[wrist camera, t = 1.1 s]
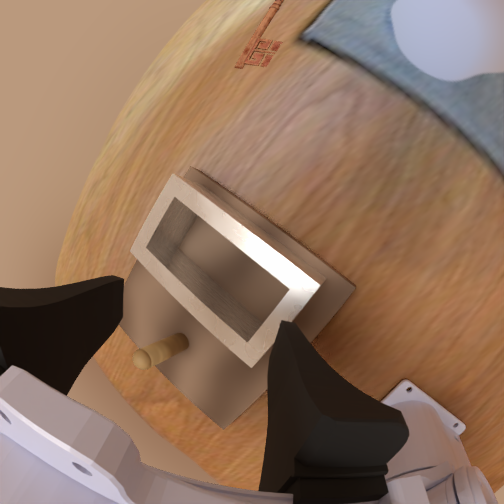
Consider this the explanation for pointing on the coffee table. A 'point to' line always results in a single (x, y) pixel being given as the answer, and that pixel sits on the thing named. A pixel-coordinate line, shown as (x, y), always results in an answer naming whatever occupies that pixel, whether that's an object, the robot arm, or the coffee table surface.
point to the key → (256, 40)
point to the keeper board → (201, 339)
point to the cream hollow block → (204, 287)
